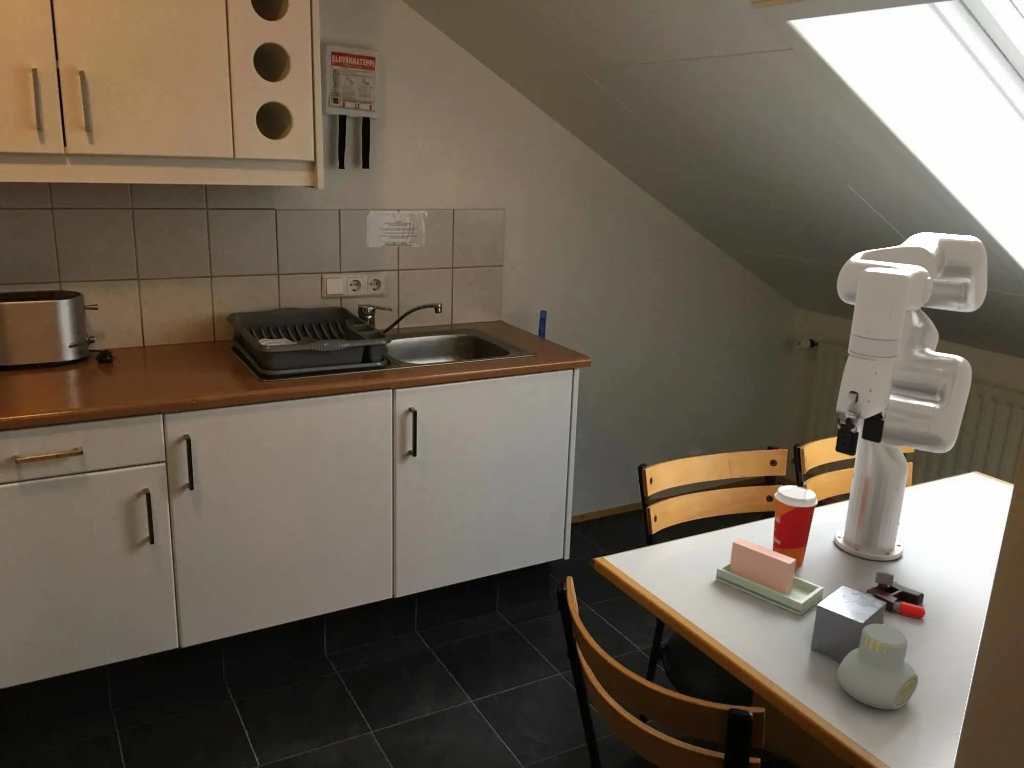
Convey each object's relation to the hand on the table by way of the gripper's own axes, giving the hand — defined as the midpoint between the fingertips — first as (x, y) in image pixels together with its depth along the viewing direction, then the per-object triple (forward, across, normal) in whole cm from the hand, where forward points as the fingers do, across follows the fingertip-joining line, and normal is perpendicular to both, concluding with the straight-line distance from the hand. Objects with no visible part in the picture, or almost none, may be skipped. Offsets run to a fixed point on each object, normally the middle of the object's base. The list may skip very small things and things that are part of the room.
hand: (858, 447), depth 139 cm
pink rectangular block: (+27, +6, -11) cm, 30 cm away
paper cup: (+28, -7, -13) cm, 32 cm away
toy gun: (+29, -5, +8) cm, 30 cm away
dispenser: (+28, +14, +8) cm, 32 cm away
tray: (+28, +6, -9) cm, 30 cm away
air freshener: (+28, +22, +17) cm, 40 cm away
